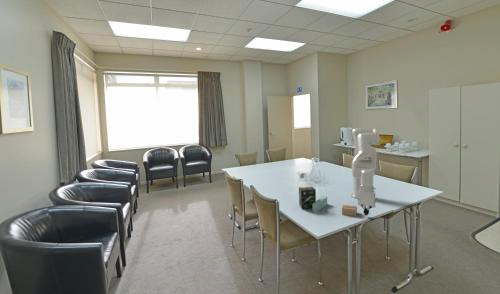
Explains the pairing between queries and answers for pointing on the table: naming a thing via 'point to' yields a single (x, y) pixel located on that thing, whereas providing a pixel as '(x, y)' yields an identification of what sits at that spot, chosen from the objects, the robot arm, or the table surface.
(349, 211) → the block
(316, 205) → the board
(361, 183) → the robot arm
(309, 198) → the tampon box
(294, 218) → the table surface
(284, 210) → the table surface
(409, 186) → the table surface
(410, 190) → the table surface
